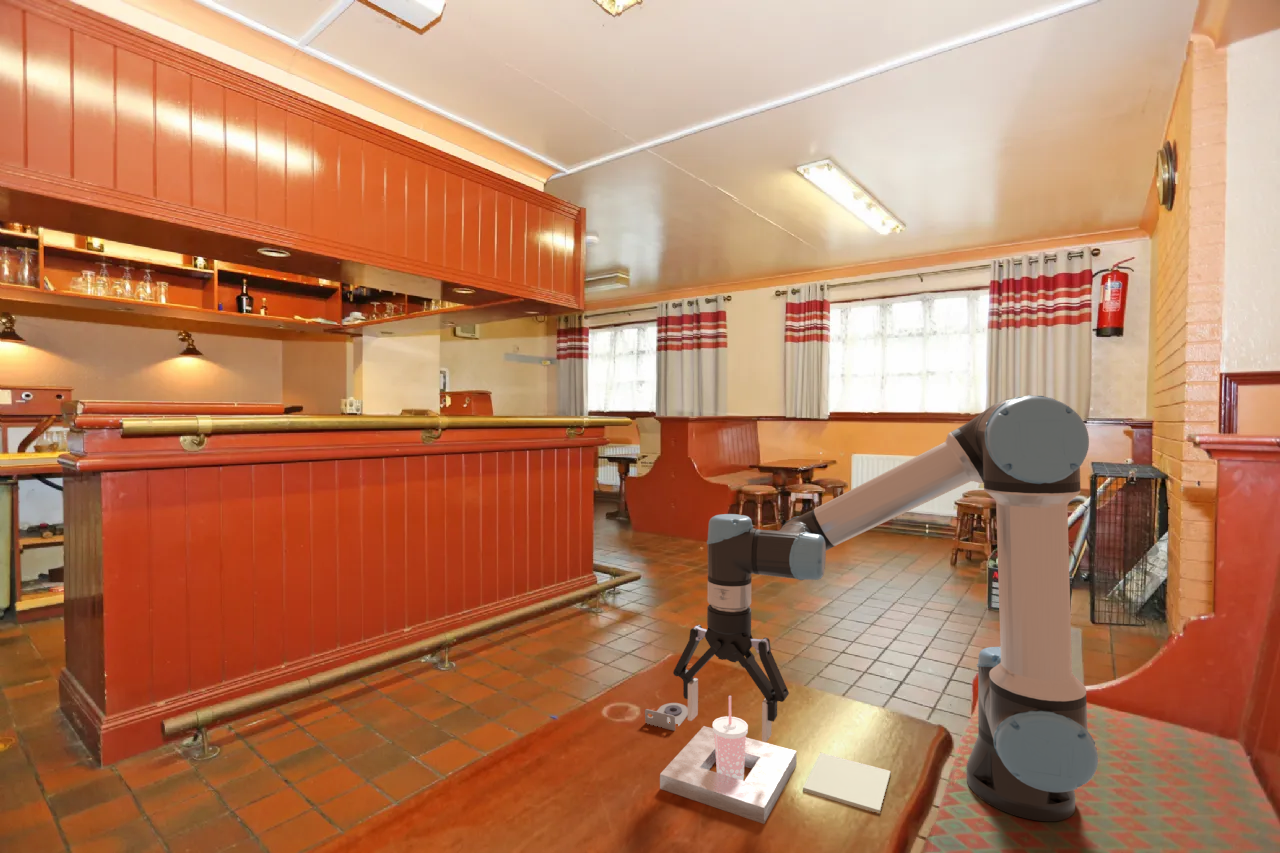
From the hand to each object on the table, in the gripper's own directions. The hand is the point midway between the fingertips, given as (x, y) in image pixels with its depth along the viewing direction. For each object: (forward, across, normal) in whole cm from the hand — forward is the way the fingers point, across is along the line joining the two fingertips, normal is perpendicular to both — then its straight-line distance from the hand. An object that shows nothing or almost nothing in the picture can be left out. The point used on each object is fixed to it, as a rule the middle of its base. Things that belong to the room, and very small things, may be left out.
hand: (728, 727), depth 104 cm
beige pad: (+8, +18, +8) cm, 22 cm away
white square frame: (+8, 0, 0) cm, 9 cm away
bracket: (+9, -19, +13) cm, 25 cm away
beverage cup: (+9, 0, 0) cm, 9 cm away
